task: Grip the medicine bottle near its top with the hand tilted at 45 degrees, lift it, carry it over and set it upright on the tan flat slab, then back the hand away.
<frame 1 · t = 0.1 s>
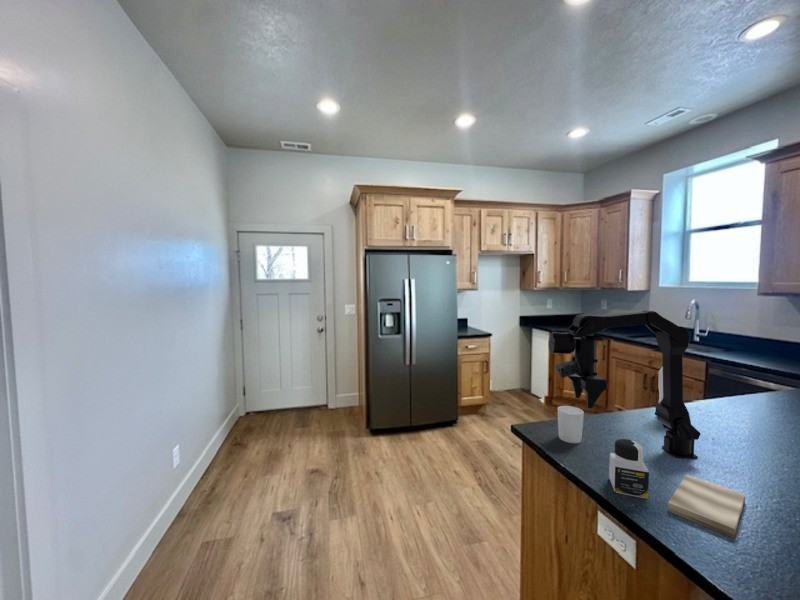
hand: (583, 402, 108), 15 cm above the counter, tool pointing down, fingers open, 9 cm apart
water bottle: (668, 418, 133), on the counter
medicine bottle: (627, 488, 87), on the counter
tan flat slab: (707, 506, 80), on the counter
white cup: (569, 439, 115), on the counter
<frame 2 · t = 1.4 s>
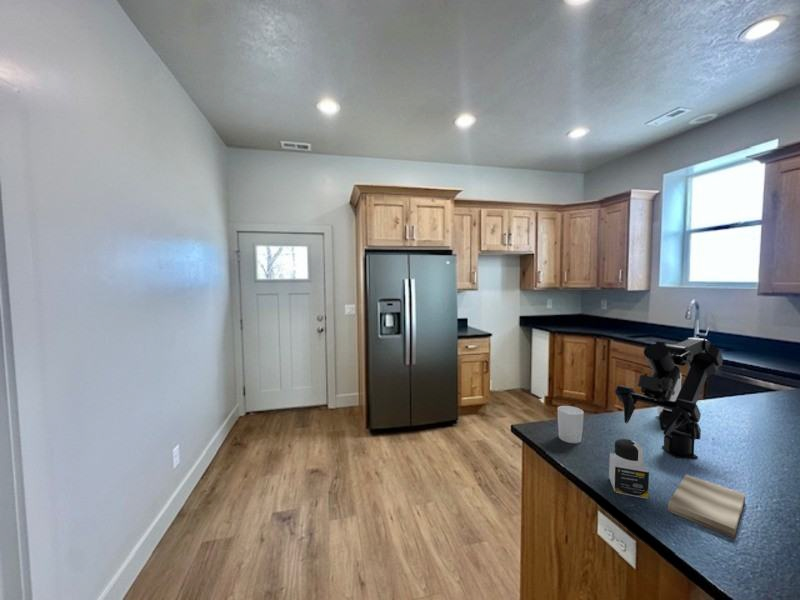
hand: (644, 428, 91), 13 cm above the counter, tool tilted 45°, fingers open, 9 cm apart
nothing on the counter moved.
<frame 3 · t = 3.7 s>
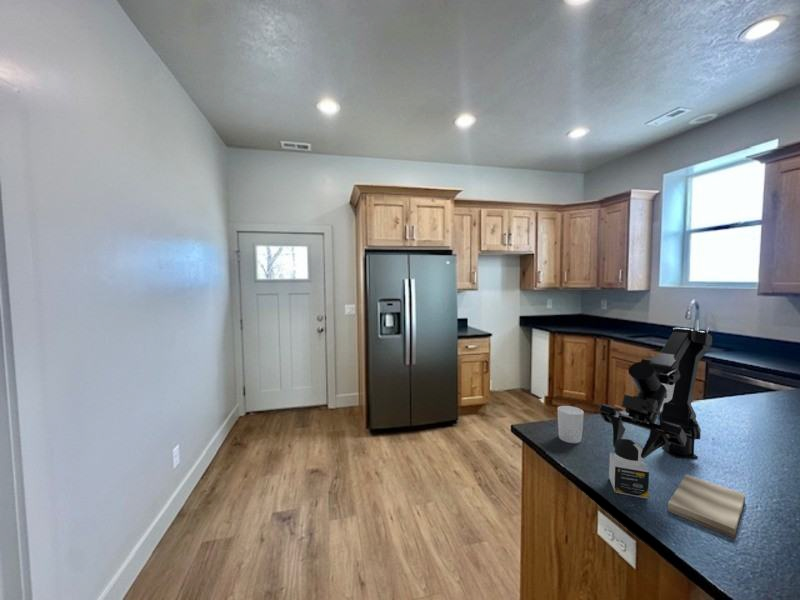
hand: (627, 451, 86), 10 cm above the counter, tool tilted 45°, fingers closed on medicine bottle, 6 cm apart
medicine bottle: (627, 488, 87), on the counter, touching gripper
everything else where it was.
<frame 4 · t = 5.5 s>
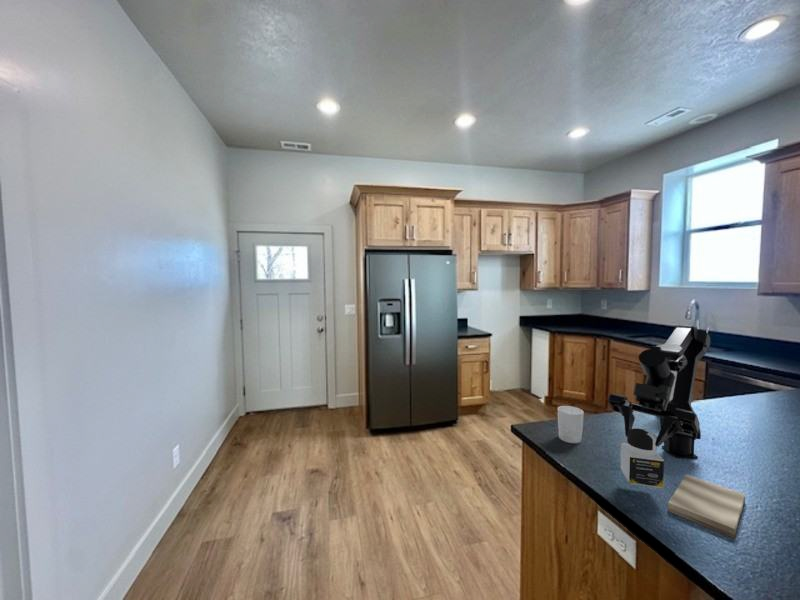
hand: (641, 440, 85), 13 cm above the counter, tool tilted 45°, fingers closed on medicine bottle, 6 cm apart
medicine bottle: (640, 479, 85), point 3 cm above the counter, touching gripper
everything else where it was.
when the fingers open (13 cm above the counter, at t = 7.4 s): medicine bottle stays where it is, resting on tan flat slab.
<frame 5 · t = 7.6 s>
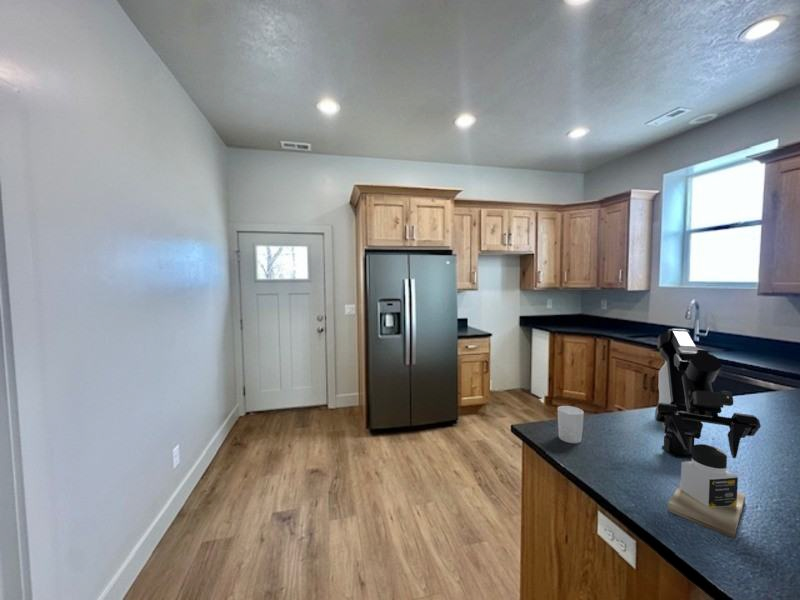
hand: (709, 453, 79), 13 cm above the counter, tool tilted 45°, fingers open, 8 cm apart
medicine bottle: (707, 498, 80), point 2 cm above the counter, touching tan flat slab
everything else where it was.
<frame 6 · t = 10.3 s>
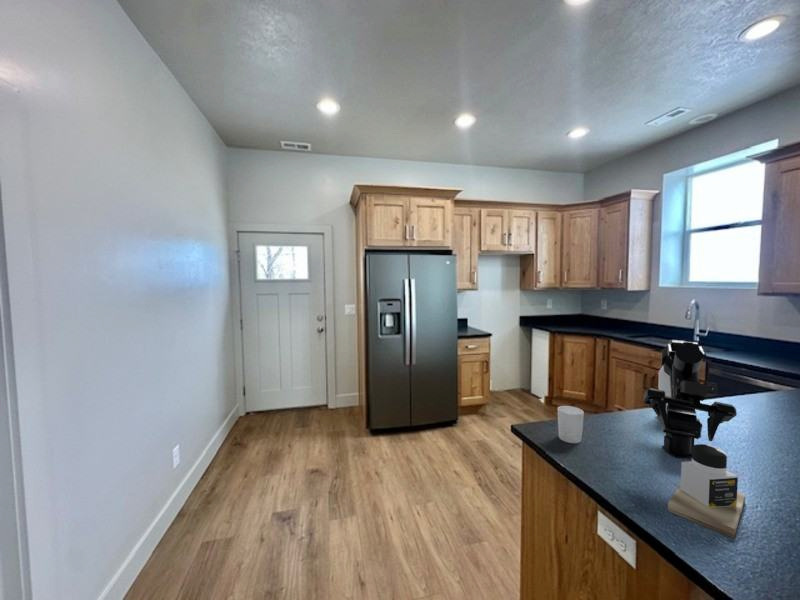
hand: (687, 435, 88), 13 cm above the counter, tool tilted 40°, fingers open, 9 cm apart
nothing on the counter moved.
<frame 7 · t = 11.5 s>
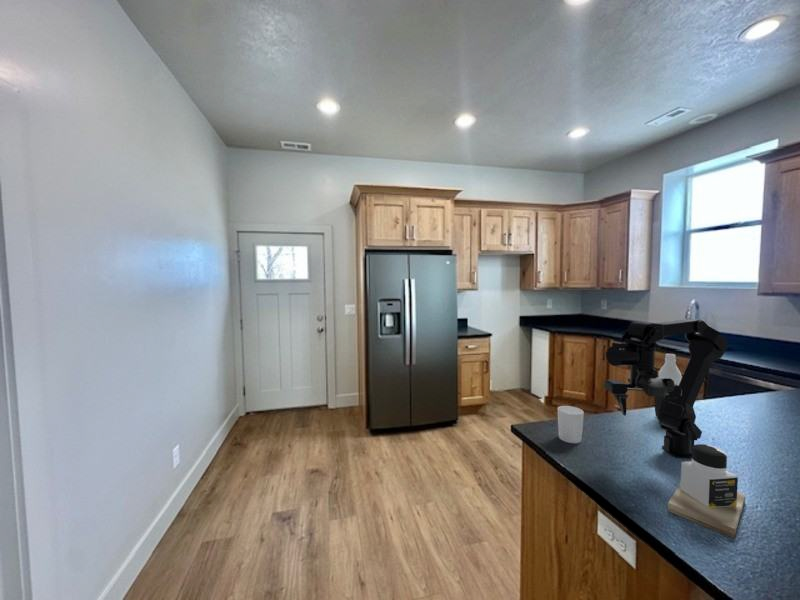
hand: (640, 415, 101), 13 cm above the counter, tool pointing down, fingers open, 9 cm apart
nothing on the counter moved.
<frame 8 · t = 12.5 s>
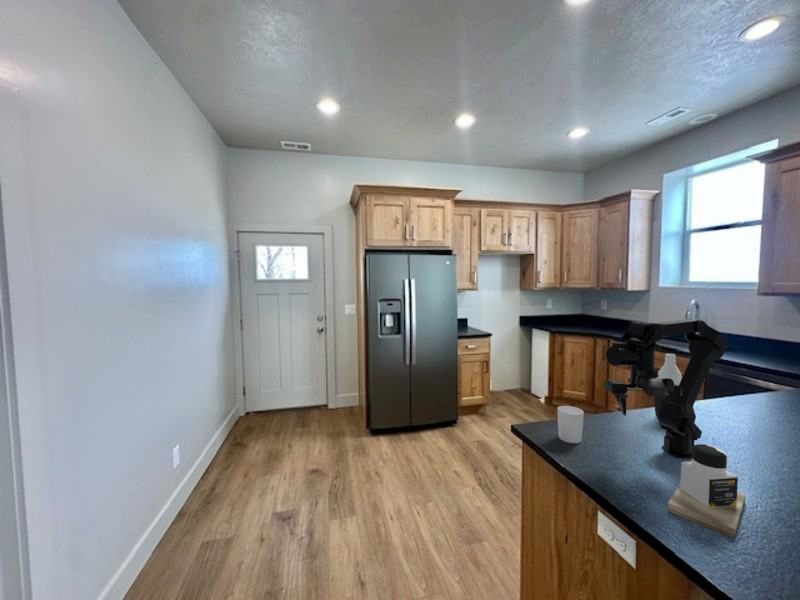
hand: (640, 415, 101), 13 cm above the counter, tool pointing down, fingers open, 9 cm apart
nothing on the counter moved.
at the end: medicine bottle inside the target area on the tan flat slab (0.1 cm from its centre), point 1.8 cm above the tan flat slab's base; medicine bottle tilted 0°; the gripper is holding nothing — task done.
